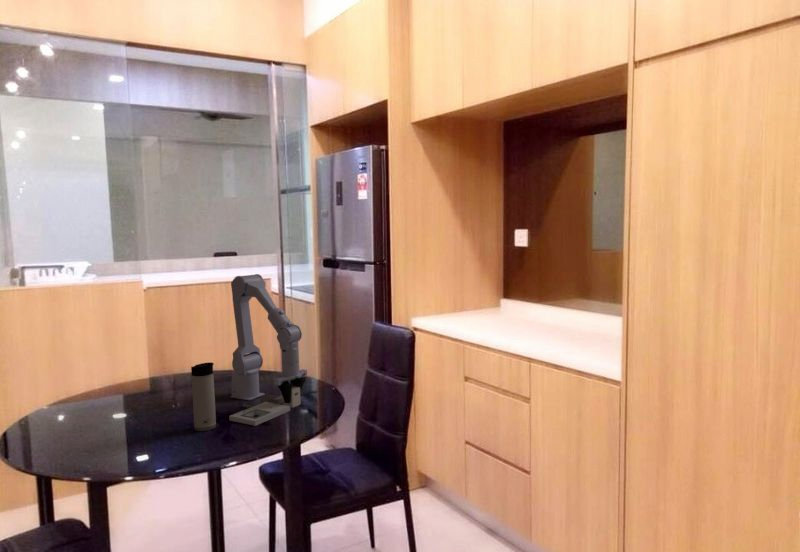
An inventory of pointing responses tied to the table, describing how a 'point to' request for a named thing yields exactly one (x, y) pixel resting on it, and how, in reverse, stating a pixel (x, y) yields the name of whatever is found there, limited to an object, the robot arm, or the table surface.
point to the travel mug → (203, 397)
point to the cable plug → (278, 400)
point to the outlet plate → (259, 413)
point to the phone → (260, 401)
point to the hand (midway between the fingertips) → (292, 400)
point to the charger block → (294, 397)
